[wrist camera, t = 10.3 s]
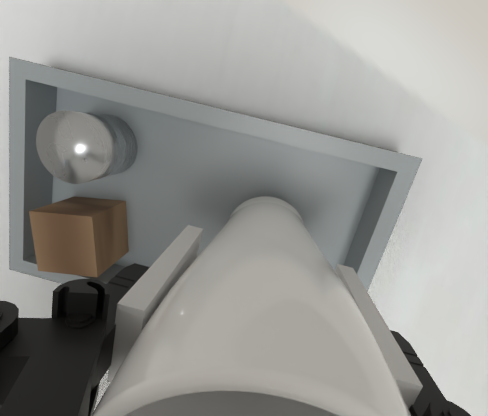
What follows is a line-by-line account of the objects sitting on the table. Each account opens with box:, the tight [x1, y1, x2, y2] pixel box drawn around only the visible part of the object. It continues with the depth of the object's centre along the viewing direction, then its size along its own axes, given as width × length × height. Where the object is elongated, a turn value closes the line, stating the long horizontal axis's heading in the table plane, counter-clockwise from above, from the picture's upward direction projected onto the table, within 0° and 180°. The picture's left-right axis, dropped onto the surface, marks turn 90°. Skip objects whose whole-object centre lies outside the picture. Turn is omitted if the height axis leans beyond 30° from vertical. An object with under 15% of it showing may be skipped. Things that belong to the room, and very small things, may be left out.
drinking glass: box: [92, 196, 412, 416], centre depth 12 cm, size 7×7×15 cm
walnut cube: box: [29, 196, 129, 277], centre depth 19 cm, size 4×4×4 cm
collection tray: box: [9, 57, 422, 291], centre depth 19 cm, size 24×14×3 cm, turn 77°
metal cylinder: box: [36, 111, 138, 184], centre depth 18 cm, size 4×4×4 cm
